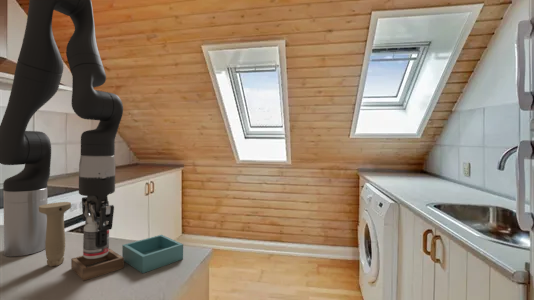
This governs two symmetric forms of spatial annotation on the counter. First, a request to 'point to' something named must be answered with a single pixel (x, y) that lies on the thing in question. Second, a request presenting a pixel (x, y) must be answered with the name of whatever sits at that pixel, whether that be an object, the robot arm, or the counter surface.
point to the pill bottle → (93, 241)
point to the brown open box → (96, 270)
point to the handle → (55, 231)
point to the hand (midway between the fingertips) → (96, 242)
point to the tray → (152, 253)
